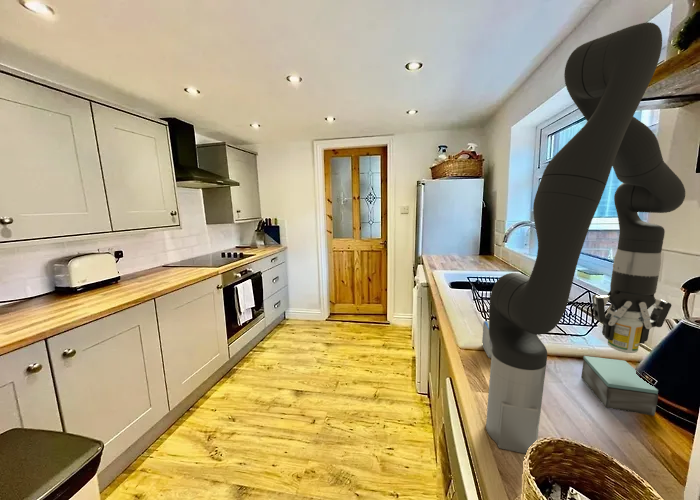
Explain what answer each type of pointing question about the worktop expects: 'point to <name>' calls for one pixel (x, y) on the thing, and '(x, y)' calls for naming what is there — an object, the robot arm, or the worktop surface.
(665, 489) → the worktop surface
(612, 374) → the lid
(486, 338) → the medicine box
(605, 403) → the storage box
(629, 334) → the supplement bottle
